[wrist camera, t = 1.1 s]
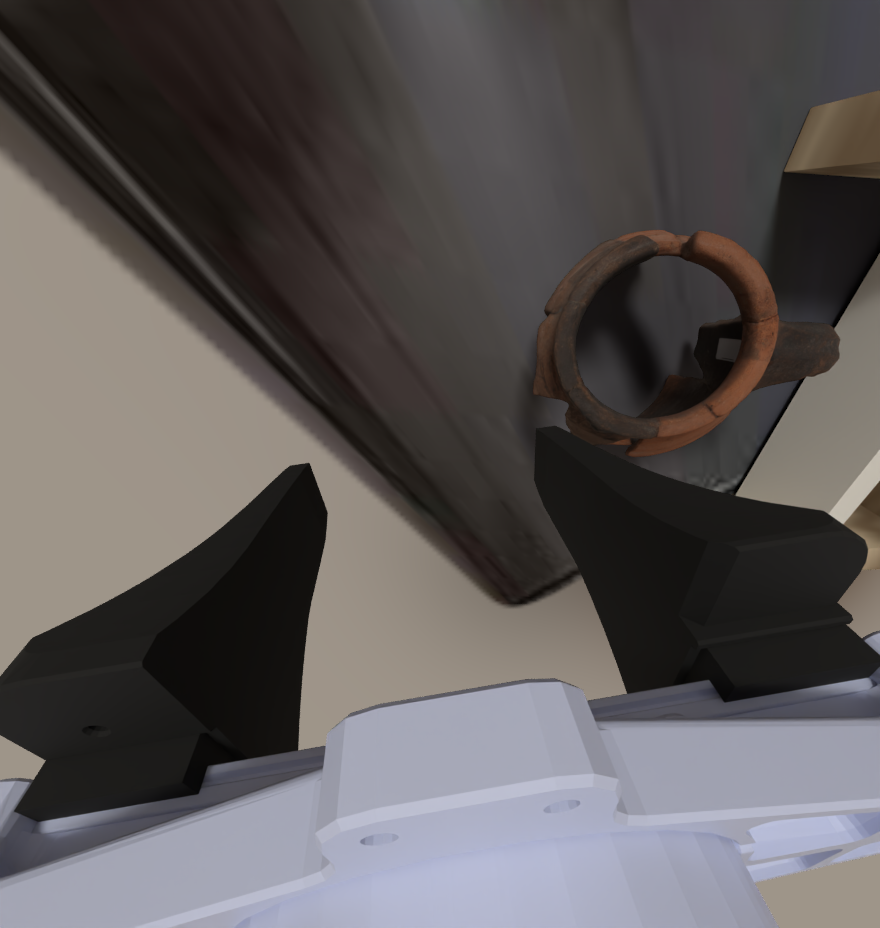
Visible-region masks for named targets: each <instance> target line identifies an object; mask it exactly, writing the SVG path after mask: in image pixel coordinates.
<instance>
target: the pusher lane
mask: <svg viewBox="0 0 880 928" xmlns="http://www.w3.org/2000/svg"><path fill="white" fill-rule="evenodd" d="M784 172H792V173H807V174H821V175H835V176H850V177H864V178H879V179H880V90H879V91H875V92H871V93H867V94H864V95H860V96H856V97H852V98H848V99H844V100H840V101H836V102H832V103H828V104H824V105H820V106H816V107H812V108H811V109H810V111H809V114H808V116H807V118H806V121H805V123H804V125H803V128H802V130H801V132H800V135H799V137H798V139H797V142H796V144H795V146H794V149H793V151H792V153H791V156H790V158H789V160H788V163H787V165H786V167H785V170H784ZM843 525H845V526H846V527H848V528H849V529H851V530H852V531H853V532H855V533H856V534H858V535H859V536H860V537H862V538H863V539H865V541H866V544H867V547H868V555H867V560H866V564H865V565H864V567H863V568H862V570H871V569H880V481H879V482H878V483H877V485H876V486H875V487H874V488H873V489H872V491H871V492H870V493H869V494H868V495H867V497H866V498H865V499H864V500H863V501H862V502H861V504H860V505H859V506H858V507H857V508H856V510H855V511H854V512H853V513H852V514H851V516H850V517H849V518H848V519H847V520H846V522H845V523H844V524H843Z"/></svg>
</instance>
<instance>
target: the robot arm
mask: <svg viewBox="0 0 880 928" xmlns="http://www.w3.org/2000/svg"><path fill="white" fill-rule="evenodd" d="M534 481H535V484H536V487H537V489H538V492H539V495H540V497H541V500H542V502H543V505H544V507H545V509H546V511H547V512H548V514H549V516H550V518H551V520H552V521H553V523H554V525H555V527H556V529H557V530H558V532H559V534H560V536H561V537H562V539H563V541H564V543H565V544H566V546H567V548H568V550H569V552H570V553H571V555H572V557H573V559H574V560H575V562H576V564H577V566H578V568H579V570H580V572H581V575H582V577H583V579H584V582H585V584H586V586H587V589H588V591H589V593H590V595H591V598H592V600H593V603H594V605H595V608H596V610H597V613H598V615H599V618H600V620H601V623H602V625H603V628H604V631H605V633H606V636H607V638H608V641H609V644H610V647H611V649H612V652H613V654H614V657H615V660H616V663H617V665H618V668H619V671H620V674H621V677H622V680H623V683H624V685H625V689H626V691H627V694H623V695H619V696H612V697H606V698H600V699H594V700H589V701H587V700H586V697H585V695H584V693H583V690H582V689H580V688H578V687H576V686H574V685H571V684H568V683H565V682H563V681H560V680H557V679H555V678H554V679H553V678H552V679H525V680H519V681H513V682H507V683H501V684H496V685H490V686H484V687H478V688H472V689H466V690H461V691H454V692H448V693H443V694H436V695H430V696H425V697H419V698H413V699H407V700H401V701H395V702H389V703H383V704H378V705H375V706H372V707H369V708H366V709H362V710H360V711H356V712H353V713H350V714H349V715H348V716H347V717H346V718H344V719H343V720H342V721H341V722H340V723H338V724H337V725H336V726H335V727H334V728H333V729H332V730H331V731H329V732H328V734H327V740H326V746H321V747H315V748H310V749H304V750H298V741H299V718H300V702H301V688H302V687H301V686H302V675H303V664H304V653H305V644H306V635H307V627H308V618H309V612H310V606H311V601H312V596H313V592H314V588H315V584H316V580H317V575H318V571H319V567H320V563H321V558H322V554H323V549H324V544H325V540H326V529H327V514H328V513H327V510H326V507H325V504H324V501H323V499H322V496H321V493H320V490H319V488H318V485H317V482H316V480H315V477H314V474H313V472H312V469H311V466H310V464H309V463H305V464H299V465H292V466H289V467H288V468H287V469H285V470H284V471H283V472H282V473H281V474H280V475H279V476H278V477H277V478H275V480H274V481H272V482H271V483H270V484H269V485H268V486H267V487H266V488H265V489H264V490H263V491H262V492H261V493H260V494H259V495H258V496H257V497H256V498H255V499H253V500H252V501H251V503H249V504H248V505H247V506H246V507H245V508H244V509H243V510H241V511H240V512H239V513H238V514H237V515H236V516H235V517H233V518H232V519H231V520H230V521H229V522H228V523H227V524H225V525H224V526H223V527H222V528H221V529H219V530H218V531H217V532H216V533H215V534H213V535H212V536H211V537H209V538H208V539H207V540H205V541H204V542H202V543H201V544H200V545H198V546H197V547H196V548H194V549H193V550H192V551H190V552H189V553H187V554H186V555H184V556H183V557H181V558H180V559H178V560H177V561H175V562H173V563H172V564H170V565H169V566H167V567H166V568H164V569H163V570H161V571H159V572H158V573H156V574H155V575H153V576H152V577H150V578H149V579H147V580H145V581H143V582H141V583H140V584H138V585H136V586H135V587H133V588H131V589H129V590H127V591H126V592H124V593H122V594H120V595H118V596H117V597H115V598H113V599H111V600H109V601H107V602H105V603H103V604H102V605H100V606H98V607H96V608H94V609H92V610H90V611H88V612H86V613H84V614H82V615H79V616H77V617H75V618H73V619H71V620H69V621H67V622H65V623H63V624H61V625H59V626H57V627H55V628H52V629H51V630H49V631H46V632H44V633H42V634H40V635H38V636H35V637H33V638H32V639H31V640H30V641H29V642H28V643H27V645H26V646H25V647H24V649H23V650H22V651H21V652H20V653H19V654H18V656H17V657H16V658H15V659H14V660H13V662H12V663H11V664H10V665H9V666H8V668H7V669H6V670H5V671H4V672H3V674H2V675H1V676H0V735H1V736H3V737H5V738H6V739H8V740H10V741H12V742H14V743H15V744H17V745H19V746H21V747H23V748H24V749H26V750H28V751H30V752H32V753H34V754H35V755H37V756H39V757H41V758H43V759H44V760H46V761H45V763H44V764H43V766H42V768H41V769H40V771H39V772H38V774H37V775H36V777H35V779H34V780H31V779H24V778H11V779H4V780H0V928H779V927H778V925H777V923H776V921H775V919H774V918H773V916H772V914H771V912H770V910H769V908H768V906H767V905H766V903H765V901H764V900H763V897H762V896H761V894H760V892H759V890H758V888H757V886H756V884H755V883H756V882H760V881H764V880H769V879H773V878H777V877H782V876H786V875H790V874H794V873H799V872H802V871H807V870H811V869H816V868H820V867H824V866H828V865H832V864H837V863H841V862H845V861H850V860H854V859H858V858H863V857H867V856H871V855H876V854H880V631H876V632H873V633H871V634H869V635H867V636H865V637H863V638H860V637H859V636H858V635H857V634H856V633H855V632H854V631H853V630H852V629H850V628H849V627H848V626H847V625H846V624H850V623H851V622H852V620H853V618H852V615H851V614H850V613H849V612H847V611H846V610H845V609H844V608H843V607H842V606H841V605H839V604H838V603H837V602H838V601H839V599H840V598H841V597H842V596H843V594H844V593H845V592H846V590H847V589H848V588H849V586H850V585H851V584H852V583H853V581H854V580H855V579H856V577H857V576H858V575H859V573H860V572H861V570H862V568H863V567H864V565H865V564H866V560H867V555H868V547H867V544H866V541H865V539H863V538H862V537H860V536H859V535H858V534H856V533H855V532H853V531H852V530H851V529H849V528H848V527H846V526H845V525H843V524H842V523H841V522H839V521H838V520H836V519H835V518H834V517H832V516H831V515H829V514H828V513H826V512H825V511H822V510H816V509H809V508H803V507H796V506H789V505H783V504H776V503H770V502H764V501H759V500H754V499H749V498H744V497H739V496H734V495H730V494H725V493H721V492H717V491H713V490H709V489H705V488H702V487H698V486H695V485H691V484H687V483H684V482H681V481H678V480H674V479H671V478H668V477H666V476H663V475H660V474H657V473H654V472H652V471H649V470H646V469H644V468H641V467H639V466H636V465H634V464H632V463H629V462H627V461H625V460H623V459H620V458H618V457H616V456H614V455H612V454H610V453H608V452H606V451H604V450H602V449H600V448H598V447H596V446H594V445H592V444H590V443H588V442H586V441H584V440H582V439H581V438H579V437H577V436H575V435H573V434H571V433H569V432H567V431H565V430H563V429H561V428H559V427H557V426H551V427H544V428H538V429H536V447H535V474H534Z"/></svg>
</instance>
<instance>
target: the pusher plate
mask: <svg viewBox="0 0 880 928" xmlns="http://www.w3.org/2000/svg"><path fill="white" fill-rule="evenodd" d="M834 330H835V331H836V333H837V335H838V336H839V337H840V344H839V353H840V357H839V360H838V361H837V362H836V363H835V364H834V366H833V367H832V368H831V369H830V370H829V371H827V372H825V373H822V374H819V375H817V376H814V377H808V376H807V377H806V378H805V379H804V381H803V383H802V384H801V386H800V388H799V389H798V391H797V393H796V394H795V396H794V398H793V399H792V401H791V403H790V404H789V406H788V408H787V409H786V411H785V413H784V415H783V416H782V418H781V420H780V421H779V423H778V425H777V426H776V428H775V430H774V431H773V433H772V435H771V436H770V438H769V440H768V441H767V443H766V445H765V446H764V448H763V450H762V451H761V453H760V455H759V456H758V458H757V460H756V462H755V463H754V465H753V467H752V468H751V470H750V472H749V473H748V475H747V477H746V478H745V480H744V482H743V483H742V485H741V487H740V488H739V490H738V492H737V493H736V495H735V496H739V497H744V498H749V499H754V500H759V501H764V502H770V503H776V504H783V505H789V506H796V507H803V508H809V509H816V510H822V511H825V512H826V513H828V514H829V515H831V516H832V517H834V518H835V519H836V520H838V521H839V522H841V523H842V524H844V523H845V522H846V520H847V519H848V518H849V517H850V516H851V514H852V513H853V512H854V511H855V510H856V508H857V507H858V506H859V505H860V504H861V502H862V501H863V500H864V499H865V498H866V497H867V495H868V494H869V493H870V492H871V491H872V489H873V488H874V487H875V486H876V485H877V483H878V482H879V481H880V253H879V255H878V257H877V258H876V260H875V262H874V263H873V265H872V267H871V269H870V270H869V272H868V274H867V275H866V277H865V279H864V280H863V282H862V284H861V285H860V287H859V289H858V290H857V292H856V294H855V295H854V297H853V299H852V300H851V302H850V304H849V305H848V307H847V309H846V310H845V312H844V314H843V316H842V317H841V319H840V321H839V322H838V324H837V326H836V327H835V329H834Z"/></svg>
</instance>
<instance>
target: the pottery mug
mask: <svg viewBox="0 0 880 928" xmlns="http://www.w3.org/2000/svg"><path fill="white" fill-rule="evenodd" d="M665 255H669V256H679V257H681V258H683V259H684V260H686V261H690V262H693V263H696V264H699V265H701V266H703V267H705V268H707V269H709V270H710V271H712V272H713V273H715V274H716V275H717V276H719V277H720V278H721V279H722V280H723V281H724V282H725V283H726V285H727V286H728V287H729V288H730V290H731V291H732V293H733V295H734V297H735V299H736V301H737V304H738V306H739V309H740V314H741V315H740V316H738V317H737V318H735V319H729V320H719V321H717V322H716V323H705V324H703V325H702V326H701V327H700V328H699V333H698V341H697V345H696V347H695V350H694V357H695V358H696V360H697V361H698V363H699V366H700V368H701V369H702V371H703V375H704V377H703V378H702V379H699V378H694V377H686V378H684V377H681V376H677V375H669V376H668V378H667V381H666V383H665V385H664V388H663V390H662V391H661V393H660V394H659V396H658V398H657V399H656V400H655V401H654V403H653V404H651V405H650V406H649V407H648V408H647V409H646V410H645V411H644V412H643V413H642V414H640V415H639V416H638V417H636V418H635V417H630V416H627V415H623V414H620V413H618V412H616V411H614V410H612V409H610V408H609V407H607V406H606V405H604V404H603V403H601V402H600V401H599V400H598V399H597V398H596V397H595V396H594V395H593V394H592V393H591V392H590V391H589V389H588V388H587V387H585V385H584V382H583V380H582V378H581V376H580V372H579V369H578V364H577V360H576V337H577V333H578V329H579V325H580V322H581V320H582V318H583V315H584V313H585V311H586V309H587V307H588V306H589V304H590V303H591V301H592V300H593V298H594V297H595V296H596V294H597V293H598V292H599V291H600V289H601V288H602V287H603V286H604V285H605V284H606V283H607V282H609V281H610V280H611V279H612V278H613V277H615V276H616V275H618V274H619V273H621V272H622V271H624V270H626V269H628V268H630V267H632V266H634V265H637V264H639V263H642V262H644V261H647V260H649V259H651V258H652V257H654V256H665ZM777 310H778V306H777V304H776V300H775V294H774V292H773V290H772V287H771V284H770V282H769V280H768V277H767V275H766V274H765V272H764V270H763V269H762V267H761V266H760V264H759V263H758V261H757V260H756V259H754V258H753V257H752V256H751V255H750V254H749V253H748V252H747V251H746V250H745V249H744V248H742V247H740V246H739V245H738V244H737V243H736V242H734V241H733V240H731V239H727V238H725V237H722V236H719V235H717V234H713V233H710V232H706V231H697V232H696V233H694V234H693V235H692V236H691V237H689V236H684V235H673V234H672V233H669V232H666V231H664V230H650V231H641V232H635V233H630V234H627V235H623V236H621V237H619V238H618V239H615V240H608V241H605V242H603V243H601V244H600V245H598V246H597V247H596V248H595V249H593V250H592V251H591V252H590V253H588V254H587V255H586V256H585V257H584V258H583V259H582V260H581V261H580V262H578V263H577V264H576V265H575V266H574V268H573V269H571V270H570V271H569V273H568V274H567V275H566V276H565V277H564V279H563V280H562V281H561V282H560V284H559V285H558V287H557V288H556V290H555V292H554V293H553V294H552V296H551V298H550V299H549V301H548V303H547V304H546V306H545V310H544V312H545V314H546V315H547V316H548V317H547V318H546V319H545V320H544V321H543V322H542V323H541V325H540V326H539V329H538V336H537V366H536V376H535V380H534V384H533V394H534V395H541V396H544V397H548V398H554V399H560V400H563V401H565V402H567V403H568V404H569V407H568V410H567V412H566V414H565V416H566V424H567V426H568V428H569V429H570V431H571V434H573V435H575V436H577V437H579V438H581V439H582V440H584V441H586V442H588V443H590V444H592V445H594V446H595V445H597V444H614V445H631V444H633V445H631V446H630V447H629V448H628V449H627V450H626V453H625V454H626V455H627V456H632V457H641V456H651V455H655V454H660V453H664V452H668V451H671V450H674V449H677V448H680V447H682V446H685V445H687V444H689V443H691V442H693V441H695V440H697V439H698V438H700V437H702V436H703V435H705V434H707V433H708V432H710V431H711V430H712V429H713V428H715V427H716V426H717V425H718V424H720V423H721V422H722V421H724V419H725V418H726V417H727V416H728V415H729V414H730V412H731V410H732V409H734V408H736V407H737V405H738V404H739V403H740V402H741V401H742V400H744V399H745V398H746V397H747V396H748V394H749V393H750V392H751V391H754V390H757V389H759V388H763V387H767V386H771V385H775V384H780V383H785V382H790V381H796V380H800V379H802V378H805V377H807V376H808V377H814V376H817V375H819V374H822V373H825V372H827V371H829V370H830V369H831V368H832V367H833V366H834V364H835V363H836V362H837V361H838V360H839V357H840V353H839V344H840V337H839V336H838V335H837V333H836V331H835V330H834V328H833V327H832V326H830V325H828V324H824V323H812V322H786V321H781V320H779V316H778V313H777Z"/></svg>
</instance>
